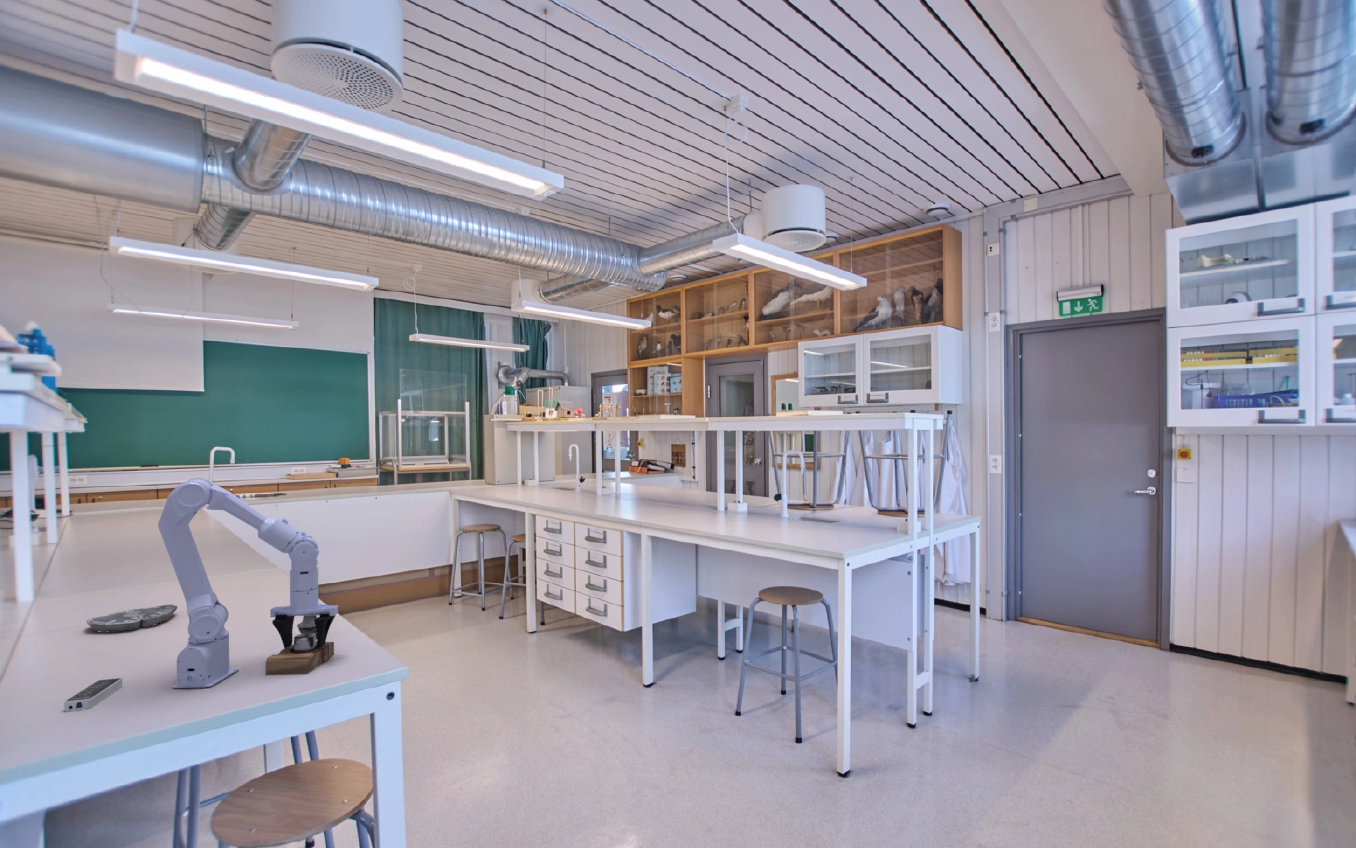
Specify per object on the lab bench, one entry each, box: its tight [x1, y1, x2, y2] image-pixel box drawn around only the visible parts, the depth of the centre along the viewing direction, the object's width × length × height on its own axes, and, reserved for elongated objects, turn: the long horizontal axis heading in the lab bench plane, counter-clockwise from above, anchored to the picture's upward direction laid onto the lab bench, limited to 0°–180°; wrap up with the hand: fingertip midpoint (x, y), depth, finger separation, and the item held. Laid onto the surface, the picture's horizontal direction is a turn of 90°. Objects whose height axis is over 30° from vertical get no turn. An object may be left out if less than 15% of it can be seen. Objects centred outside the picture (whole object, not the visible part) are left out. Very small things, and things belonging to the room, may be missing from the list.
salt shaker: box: [296, 615, 318, 640], centre depth 164 cm, size 6×6×12 cm
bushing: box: [293, 633, 317, 654], centre depth 147 cm, size 4×4×6 cm
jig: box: [265, 641, 335, 676], centre depth 145 cm, size 12×10×4 cm
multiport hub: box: [63, 677, 123, 712], centre depth 127 cm, size 4×11×2 cm, turn 16°
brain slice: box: [86, 604, 178, 633], centre depth 176 cm, size 20×17×3 cm
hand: (304, 646), depth 147 cm, fingers open, 7 cm apart
